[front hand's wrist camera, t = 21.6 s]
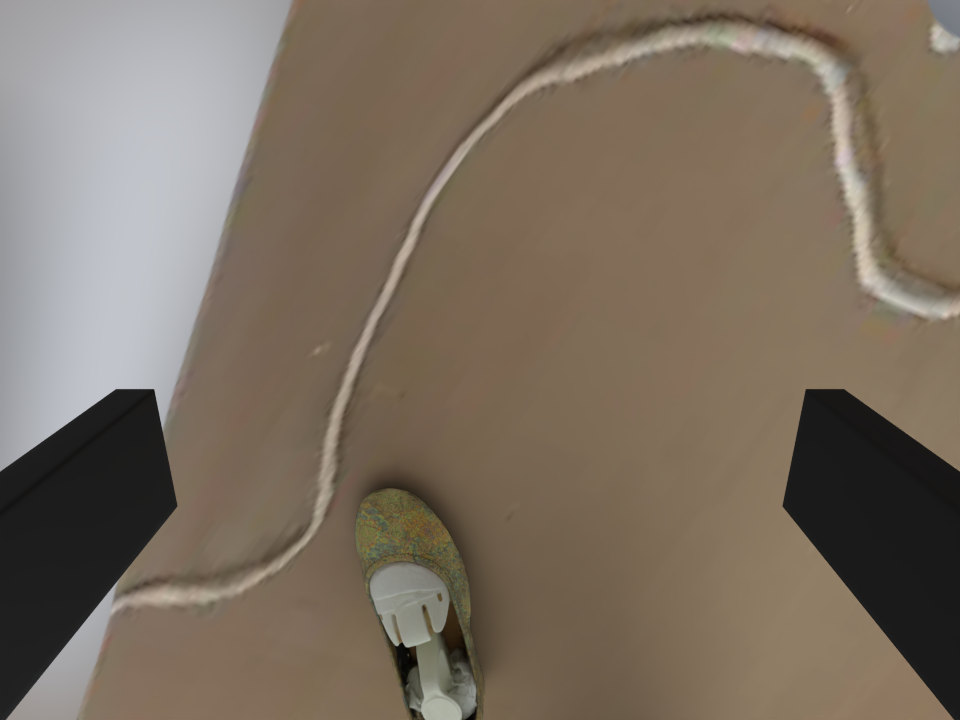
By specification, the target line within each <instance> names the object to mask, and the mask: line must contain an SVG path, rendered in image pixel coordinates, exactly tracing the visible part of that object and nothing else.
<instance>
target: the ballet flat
mask: <svg viewBox="0 0 960 720" xmlns="http://www.w3.org/2000/svg"><path fill="white" fill-rule="evenodd" d="M355 536H356V548H357V552H358V556H359V560H360V564H361V568H362V573H363V578H364V583H365V589H366V592H367V595H368V598H369V600H370V602H371V604H372V607H373V609H374V611H375V614H376V616H377V619H378V621H379V624H380V627H381V630H382V633H383V636H384V639H385V642H386V645H387V648H388V651H389V654H390V657H391V661H392V665H393V668H394V671H395V674H396V678H397V681H398V684H399V687H400V691H401V694H402V697H403V701H404V704H405V707H406V710H407V713H408V716H409V720H483V701H484V695H485V682H484V678H483V675H482V670H481V667H480V664H479V660H478V658H477V655H476V651H475V648H474V643H473V638H472V633H471V629H470V613H471V608H470V605H471V603H470V589H469V582H468V577H467V573H466V569H465V565H464V563H463V561H462V559H461V556H460V554H459V552H458V550H457V548H456V546H455V544H454V542H453V540H452V538H451V536H450V534H449V533H448V531H447V529H446V528H445V527H444V525H443V524H442V523H441V521H440V519H439V518H438V517H437V516H436V515H435V514H434V513H433V511H432V510H431V509H430V508H429V507H428V506H427V505H426V504H425V503H424V502H423V501H422V500H421V499H419V498H418V497H417V496H415V495H414V494H412V493H410V492H408V491H405V490H400V489H394V488H387V489H381V490H377V491H374V492H372V493H371V494H369V495H368V496H367V497H365V499H364V500H363V501H362V502H361V504H360V506H359V509H358V512H357V517H356V526H355ZM407 654H409V656H408V655H407Z"/></svg>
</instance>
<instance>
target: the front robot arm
mask: <svg viewBox="0 0 960 720" xmlns="http://www.w3.org/2000/svg"><path fill="white" fill-rule="evenodd" d="M176 507H177V501H176V496H175V491H174V486H173V481H172V476H171V471H170V466H169V461H168V456H167V451H166V446H165V441H164V436H163V431H162V426H161V421H160V416H159V411H158V406H157V401H156V396H155V391H154V389H116V390H114V391H113V392H112V393H110V394H109V395H107V396H106V397H104V398H103V399H102V400H100V401H99V402H97V403H96V404H95V405H93V406H92V407H90V408H89V409H88V410H86V411H85V412H83V413H82V414H81V415H79V416H78V417H76V418H75V419H74V420H72V421H71V422H69V423H68V424H67V425H65V426H64V427H62V428H61V429H60V430H58V431H57V432H55V433H54V434H53V435H51V436H50V437H48V438H47V439H45V440H44V441H43V442H41V443H40V444H38V445H37V446H36V447H34V448H33V449H31V450H30V451H29V452H27V453H26V454H24V455H23V456H22V457H20V458H19V459H17V460H16V461H15V462H13V463H12V464H10V465H9V466H8V467H6V468H5V469H3V470H2V471H1V472H0V720H6V719H7V718H8V716H9V715H10V714H11V713H12V711H13V710H14V709H15V708H16V706H17V705H18V704H19V703H20V701H21V700H22V699H23V698H24V696H25V695H26V694H27V693H28V691H29V690H30V689H31V688H32V686H33V685H34V684H35V683H36V682H37V680H38V679H39V678H40V676H41V675H42V674H43V673H44V672H45V670H46V669H47V668H48V667H49V665H50V664H51V663H52V662H53V660H54V659H55V658H56V657H57V655H58V654H59V653H60V652H61V650H62V649H63V648H64V647H65V645H66V644H67V643H68V642H69V640H70V639H71V638H72V637H73V636H74V634H75V633H76V632H77V631H78V629H79V628H80V627H81V626H82V624H83V623H84V622H85V621H86V619H87V618H88V617H89V616H90V614H91V613H92V612H93V611H94V609H95V608H96V607H97V606H98V604H99V603H100V602H101V601H102V599H103V598H104V597H105V596H106V594H107V593H108V592H109V591H110V589H111V588H112V587H113V586H114V585H115V583H116V582H117V581H118V580H119V578H120V577H121V576H122V575H123V573H124V572H125V571H126V570H127V568H128V567H129V566H130V565H131V563H132V562H133V561H134V560H135V558H136V557H137V556H138V555H139V553H140V552H141V551H142V550H143V548H144V547H145V546H146V545H147V544H148V542H149V541H150V540H151V539H152V537H153V536H154V535H155V534H156V532H157V531H158V530H159V529H160V527H161V526H162V525H163V524H164V522H165V521H166V520H167V519H168V517H169V516H170V515H171V514H172V512H173V511H174V510H175V509H176ZM783 507H784V509H785V510H786V511H787V512H788V514H789V515H790V516H791V517H792V519H793V520H794V521H795V522H796V524H797V525H798V526H799V527H800V529H801V530H802V531H803V532H804V534H805V535H806V536H807V537H808V539H809V540H810V541H811V542H812V544H813V545H814V546H815V547H816V548H817V550H818V551H819V552H820V553H821V555H822V556H823V557H824V558H825V560H826V561H827V562H828V563H829V565H830V566H831V567H832V568H833V570H834V571H835V572H836V573H837V575H838V576H839V577H840V578H841V580H842V581H843V582H844V583H845V585H846V586H847V587H848V588H849V590H850V591H851V592H852V593H853V594H854V596H855V597H856V598H857V599H858V601H859V602H860V603H861V604H862V606H863V607H864V608H865V609H866V611H867V612H868V613H869V614H870V616H871V617H872V618H873V619H874V621H875V622H876V623H877V624H878V626H879V627H880V628H881V629H882V631H883V632H884V633H885V634H886V636H887V637H888V638H889V639H890V641H891V642H892V643H893V644H894V645H895V647H896V648H897V649H898V650H899V652H900V653H901V654H902V655H903V657H904V658H905V659H906V660H907V662H908V663H909V664H910V665H911V667H912V668H913V669H914V670H915V672H916V673H917V674H918V675H919V677H920V678H921V679H922V680H923V682H924V683H925V684H926V685H927V687H928V688H929V689H930V690H931V691H932V693H933V694H934V695H935V696H936V698H937V699H938V700H939V701H940V703H941V704H942V705H943V706H944V708H945V709H946V710H947V711H948V713H949V714H950V715H951V716H952V718H953V719H954V720H960V472H959V471H958V470H957V469H955V468H954V467H952V466H951V465H950V464H948V463H947V462H945V461H944V460H943V459H941V458H940V457H938V456H937V455H936V454H934V453H933V452H931V451H930V450H929V449H927V448H926V447H924V446H923V445H922V444H920V443H919V442H917V441H916V440H915V439H913V438H912V437H910V436H909V435H908V434H906V433H905V432H903V431H902V430H900V429H899V428H898V427H896V426H895V425H893V424H892V423H891V422H889V421H888V420H886V419H885V418H884V417H882V416H881V415H879V414H878V413H877V412H875V411H874V410H872V409H871V408H870V407H868V406H867V405H865V404H864V403H863V402H861V401H860V400H858V399H857V398H856V397H854V396H853V395H851V394H850V393H849V392H847V391H846V390H844V389H806V391H805V396H804V401H803V406H802V411H801V416H800V421H799V426H798V431H797V436H796V441H795V446H794V451H793V456H792V461H791V466H790V471H789V476H788V481H787V486H786V491H785V496H784V501H783Z"/></svg>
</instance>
